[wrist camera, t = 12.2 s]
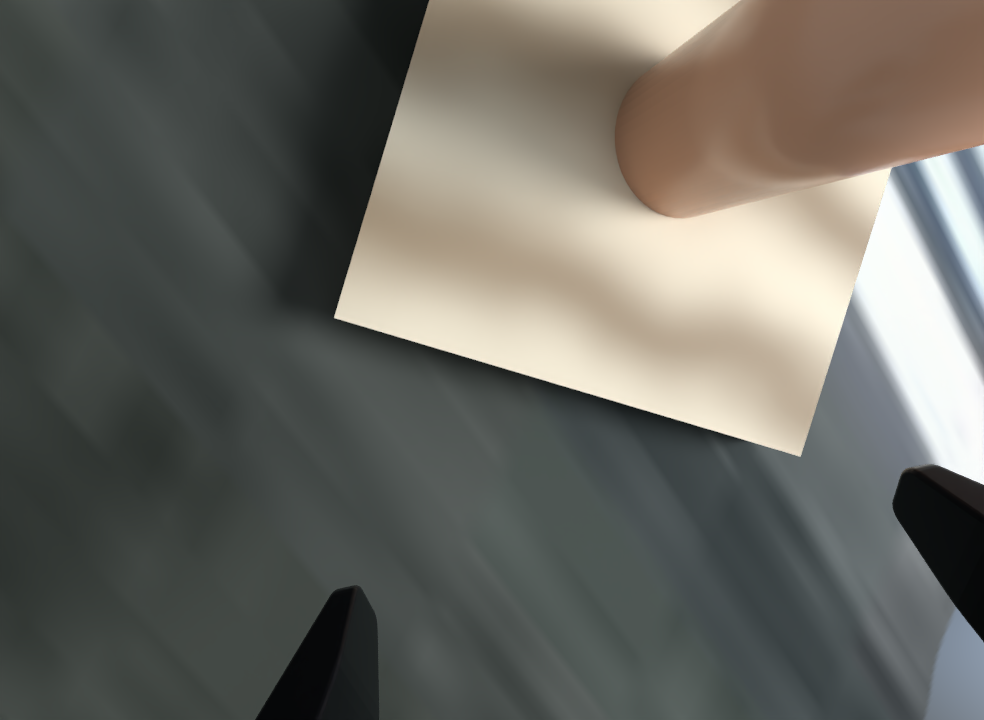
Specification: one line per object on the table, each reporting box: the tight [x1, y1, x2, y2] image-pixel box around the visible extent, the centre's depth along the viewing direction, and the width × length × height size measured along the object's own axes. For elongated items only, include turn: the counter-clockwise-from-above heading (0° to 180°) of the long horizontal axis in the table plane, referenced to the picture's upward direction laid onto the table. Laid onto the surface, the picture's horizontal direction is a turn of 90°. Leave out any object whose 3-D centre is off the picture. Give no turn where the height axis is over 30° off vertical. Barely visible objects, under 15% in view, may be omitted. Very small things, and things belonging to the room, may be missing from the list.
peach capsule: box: [615, 0, 984, 218], centre depth 12 cm, size 5×5×11 cm
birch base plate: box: [334, 0, 891, 457], centre depth 19 cm, size 18×18×2 cm
